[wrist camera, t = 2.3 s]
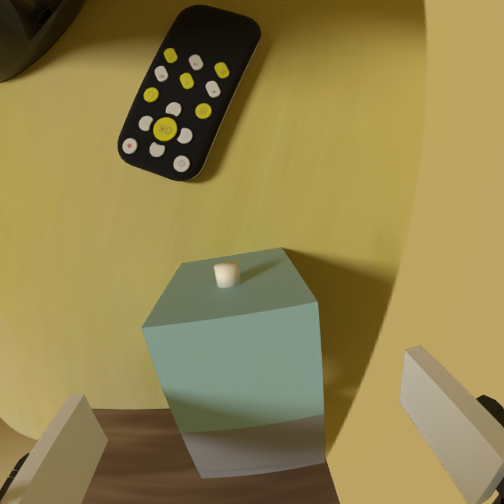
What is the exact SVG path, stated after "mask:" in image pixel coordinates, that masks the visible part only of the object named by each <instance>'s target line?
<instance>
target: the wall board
mask: <svg viewBox="0 0 504 504" xmlns="http://www.w3.org/2000/svg"><path fill="white" fill-rule="evenodd" d="M92 411H93V413H94V415H95V417H96V419H97V421H98V422H99V424H100V426H101V428H102V430H103V431H104V433H105V435H106V437H107V438H108V442H107V444H106V447H105V449H104V451H103V453H102V456H101V458H100V460H99V463H98V465H97V467H96V470H95V472H94V474H93V477H92V479H91V482H90V484H89V486H88V489H87V491H86V494H85V496H84V499H83V501H82V504H340V503H339V500H338V496H337V493H336V490H335V487H334V483H333V480H332V477H331V474H330V471H329V467H328V464H327V461H326V458H325V462H324V463H320V464H315V465H310V466H305V467H300V468H295V469H289V470H283V471H277V472H270V473H263V474H254V475H245V476H235V477H221V478H201V476H200V474H199V472H198V470H197V468H196V466H195V464H194V462H193V460H192V457H191V455H190V453H189V451H188V449H187V447H186V444H185V442H184V440H183V438H182V435H181V433H180V431H179V429H178V426H177V424H176V421H175V419H174V417H173V414H172V412H171V409H150V410H107V409H92Z"/></svg>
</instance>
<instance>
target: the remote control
mask: <svg viewBox="0 0 504 504" xmlns="http://www.w3.org/2000/svg"><path fill="white" fill-rule="evenodd" d="M260 39H261V30H260V27H259V25H258V24H257V23H256V22H255V21H254V20H253V19H251V18H249V17H246V16H243V15H240V14H236V13H233V12H229V11H226V10H222V9H218V8H214V7H210V6H206V5H194V6H190V7H188V8H186V9H184V10H183V11H182V12H181V13H180V14H179V15H178V16H177V18H176V20H175V21H174V23H173V25H172V27H171V28H170V30H169V32H168V34H167V35H166V37H165V39H164V41H163V43H162V44H161V46H160V48H159V50H158V52H157V54H156V56H155V58H154V60H153V62H152V64H151V65H150V67H149V69H148V72H147V74H146V76H145V78H144V80H143V82H142V84H141V86H140V88H139V90H138V93H137V95H136V97H135V99H134V102H133V104H132V106H131V109H130V111H129V113H128V116H127V118H126V120H125V123H124V125H123V128H122V130H121V133H120V136H119V139H118V152H119V155H120V156H121V158H122V159H123V160H124V161H125V162H126V163H128V164H130V165H132V166H135V167H138V168H141V169H143V170H146V171H149V172H152V173H155V174H157V175H160V176H163V177H166V178H168V179H171V180H175V181H188V180H191V179H193V178H195V177H196V176H198V175H199V173H200V172H201V171H202V170H203V168H204V166H205V163H206V161H207V158H208V156H209V153H210V151H211V149H212V146H213V144H214V141H215V139H216V137H217V134H218V132H219V129H220V127H221V125H222V122H223V120H224V118H225V116H226V113H227V111H228V109H229V106H230V104H231V102H232V100H233V98H234V95H235V93H236V91H237V89H238V87H239V84H240V82H241V80H242V78H243V76H244V74H245V72H246V69H247V67H248V65H249V63H250V61H251V59H252V57H253V55H254V53H255V51H256V49H257V47H258V45H259V42H260Z"/></svg>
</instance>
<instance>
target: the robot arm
mask: <svg viewBox="0 0 504 504" xmlns="http://www.w3.org/2000/svg"><path fill="white" fill-rule="evenodd" d="M83 2H84V0H0V82H2V81H5V80H7V79H9V78H12V77H13V76H15V75H17V74H19V73H20V72H22V71H23V70H25V69H26V68H27V67H29V66H30V65H31V64H32V63H34V62H35V61H36V60H37V59H38V58H39V57H41V56H42V55H43V54H44V53H45V52H46V51H47V50H48V49H49V48H50V47H51V46H52V45H53V44H54V42H55V41H56V40H57V39H58V38H59V37H60V36H61V34H62V33H63V32H64V31H65V29H66V28H67V27H68V26H69V24H70V23H71V21H72V20H73V19H74V17H75V16H76V14H77V12H78V11H79V9H80V7H81V6H82V4H83ZM399 403H400V404H401V405H402V407H403V408H404V410H405V411H406V413H407V414H408V415H409V417H410V418H411V420H412V421H413V423H414V424H415V425H416V427H417V428H418V430H419V431H420V433H421V434H422V436H423V437H424V439H425V440H426V441H427V443H428V445H429V446H430V447H431V449H432V450H433V452H434V453H435V455H436V456H437V458H438V459H439V461H440V462H441V464H442V465H443V467H444V468H445V470H446V471H447V473H448V475H449V476H450V478H451V479H452V481H453V482H454V484H455V485H456V487H457V488H458V490H459V491H460V493H461V494H462V496H463V498H464V499H465V501H466V502H467V504H481V503H483V502H485V501H486V500H488V499H489V498H490V497H491V495H492V494H493V493H494V491H495V490H497V491H498V492H499V495H498V497H497V498H496V499H495V501H494V502H493V503H492V504H504V409H503V407H502V406H501V405H500V404H499V403H498V402H497V401H496V400H494V399H492V398H490V397H488V396H485V395H482V396H480V397H478V398H476V399H475V398H474V397H473V396H472V395H471V394H470V393H469V392H468V391H467V390H466V389H465V388H464V387H463V386H462V385H461V384H460V383H459V382H458V381H457V380H456V379H455V378H454V377H453V376H452V375H451V374H450V373H449V372H448V371H447V370H446V369H445V368H444V367H443V366H442V365H441V364H440V363H439V362H437V361H436V360H435V359H434V358H433V357H432V356H431V355H430V354H429V353H428V352H427V351H426V350H425V349H424V348H423V347H422V346H421V345H420V346H417V347H414V348H411V349H408V350H405V352H404V363H403V373H402V382H401V391H400V398H399ZM107 442H108V438H107V437H106V435H105V433H104V431H103V430H102V428H101V426H100V424H99V422H98V421H97V419H96V417H95V415H94V413H93V411H92V409H91V407H90V405H89V403H88V401H87V399H86V397H85V395H84V394H70V395H69V397H68V398H67V399H66V401H65V402H64V404H63V405H62V407H61V408H60V409H59V411H58V412H57V414H56V415H55V417H54V418H53V420H52V421H51V423H50V424H49V426H48V427H47V428H46V430H45V431H44V433H43V434H42V436H41V437H40V439H39V440H38V442H37V444H36V445H35V447H34V448H33V450H32V451H31V453H30V454H29V453H27V454H26V455H25V456H24V457H22V458H21V459H20V460H19V461H18V463H17V464H16V466H15V467H14V471H12V472H11V474H10V475H9V476H10V477H8V478H7V480H6V482H5V483H4V485H3V486H2V488H1V490H0V504H82V501H83V499H84V496H85V494H86V491H87V489H88V486H89V484H90V482H91V479H92V477H93V474H94V472H95V470H96V467H97V465H98V463H99V460H100V458H101V456H102V453H103V451H104V449H105V447H106V444H107Z"/></svg>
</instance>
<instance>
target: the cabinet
mask: <svg viewBox="0 0 504 504" xmlns="http://www.w3.org/2000/svg"><path fill="white" fill-rule="evenodd" d="M142 331H143V334H144V337H145V340H146V343H147V347H148V350H149V353H150V356H151V358H152V361H153V364H154V367H155V370H156V373H157V375H158V378H159V381H160V384H161V386H162V389H163V392H164V394H165V397H166V399H167V402H168V404H169V407H170V409H171V412H172V414H173V417H174V419H175V421H176V424H177V426H178V429H179V431H180V433H181V435H182V438H183V440H184V442H185V444H186V447H187V449H188V451H189V453H190V455H191V457H192V460H193V462H194V464H195V466H196V468H197V470H198V472H199V474H200V476H201V478H221V477H235V476H245V475H254V474H263V473H270V472H277V471H283V470H289V469H295V468H300V467H305V466H310V465H315V464H320V463H324V462H325V423H324V392H323V370H322V352H321V336H320V323H319V310H318V301H317V300H316V298H315V297H314V295H313V294H312V292H311V291H310V289H309V288H308V286H307V285H306V283H305V282H304V280H303V278H302V277H301V275H300V274H299V272H298V271H297V269H296V268H295V266H294V265H293V263H292V262H291V260H290V259H289V258H288V256H287V255H286V253H285V252H284V250H283V249H282V247H281V248H275V249H269V250H263V251H257V252H250V253H244V254H238V255H232V256H225V257H219V258H213V259H207V260H201V261H194V262H188V263H182V264H181V265H180V267H179V268H178V270H177V272H176V273H175V275H174V276H173V278H172V279H171V281H170V283H169V284H168V286H167V287H166V289H165V291H164V292H163V294H162V295H161V297H160V299H159V300H158V302H157V303H156V305H155V307H154V308H153V310H152V311H151V313H150V315H149V316H148V318H147V320H146V321H145V323H144V325H143V326H142Z"/></svg>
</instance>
